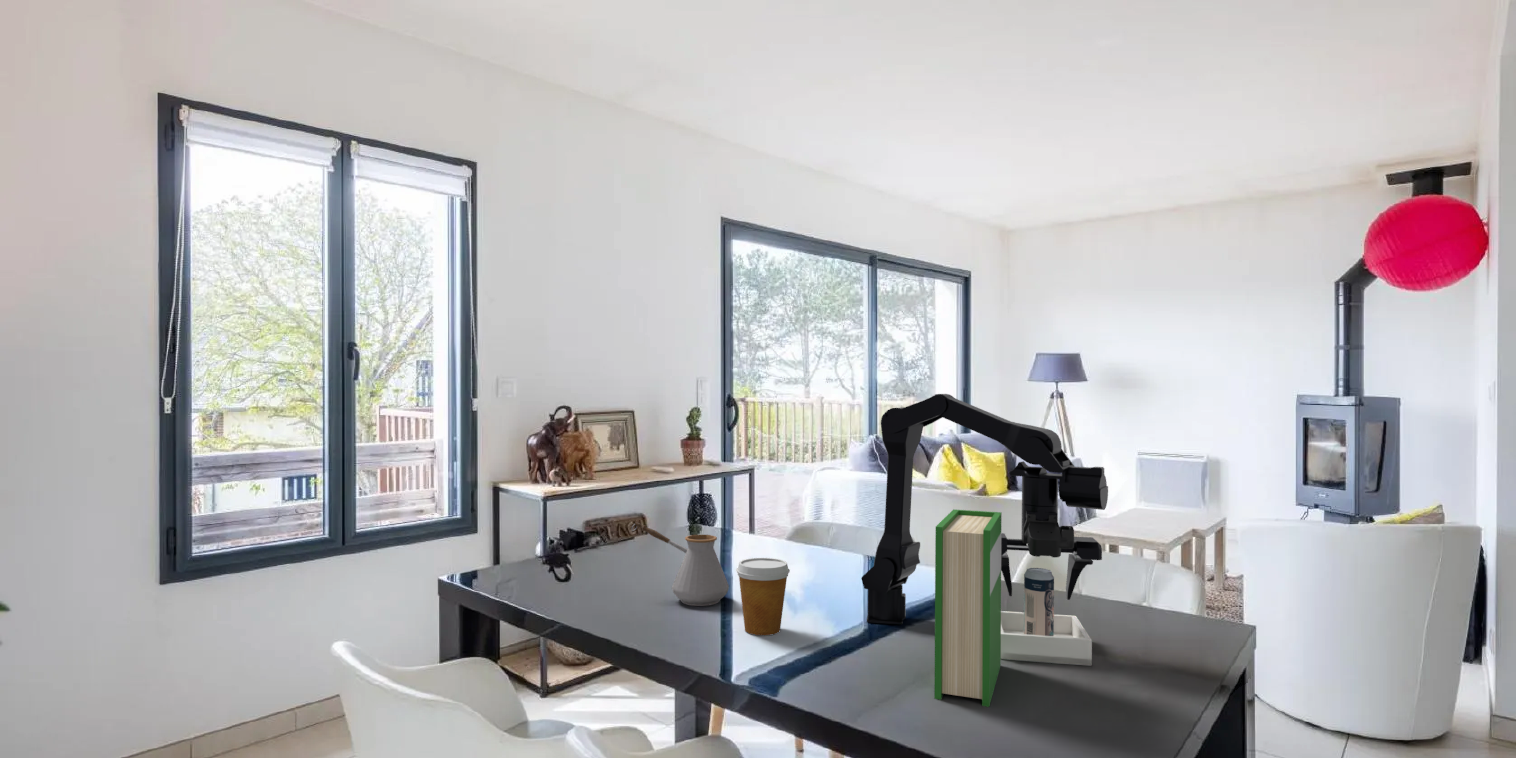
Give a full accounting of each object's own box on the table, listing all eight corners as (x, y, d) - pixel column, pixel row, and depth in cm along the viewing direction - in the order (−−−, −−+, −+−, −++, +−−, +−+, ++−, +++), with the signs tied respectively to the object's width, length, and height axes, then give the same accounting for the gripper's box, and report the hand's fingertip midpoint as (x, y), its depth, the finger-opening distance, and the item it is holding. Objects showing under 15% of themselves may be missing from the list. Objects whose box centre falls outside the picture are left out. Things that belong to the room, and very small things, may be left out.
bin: (998, 658, 129) (999, 633, 129) (992, 633, 143) (992, 610, 143) (1091, 665, 127) (1091, 640, 127) (1075, 638, 140) (1075, 615, 140)
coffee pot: (737, 597, 166) (737, 524, 166) (715, 611, 155) (716, 533, 156) (645, 587, 174) (645, 517, 174) (618, 600, 163) (618, 526, 163)
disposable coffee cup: (800, 630, 144) (800, 562, 144) (764, 642, 137) (764, 571, 137) (761, 619, 150) (761, 554, 150) (724, 630, 143) (725, 562, 143)
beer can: (1055, 647, 132) (1056, 574, 132) (1025, 645, 133) (1026, 572, 133) (1051, 638, 137) (1051, 568, 137) (1021, 636, 138) (1022, 566, 138)
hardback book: (989, 706, 110) (990, 530, 110) (934, 698, 113) (935, 526, 113) (1000, 665, 126) (1001, 512, 127) (952, 659, 129) (953, 509, 129)
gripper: (985, 508, 129) (984, 606, 129) (1109, 513, 125) (1109, 614, 125) (980, 499, 140) (980, 589, 140) (1095, 503, 136) (1094, 596, 136)
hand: (1038, 597), depth 135 cm, fingers open, 9 cm apart
